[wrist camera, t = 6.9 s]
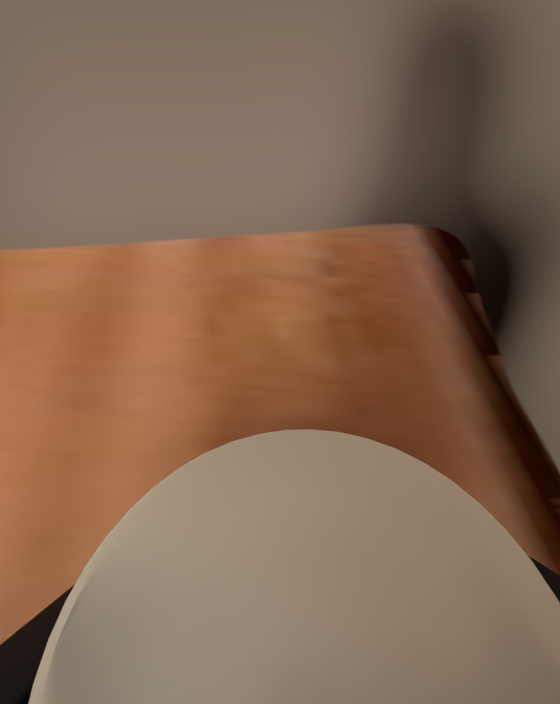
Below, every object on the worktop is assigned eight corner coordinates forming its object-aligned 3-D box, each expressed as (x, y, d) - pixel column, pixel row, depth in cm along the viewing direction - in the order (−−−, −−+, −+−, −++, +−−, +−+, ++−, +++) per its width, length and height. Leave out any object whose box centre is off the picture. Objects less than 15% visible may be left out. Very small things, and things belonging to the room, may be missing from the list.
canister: (394, 694, 13) (832, 1307, 2) (232, 706, 13) (-102, 1363, 2) (364, 518, 15) (496, 411, 5) (231, 529, 15) (77, 448, 5)
